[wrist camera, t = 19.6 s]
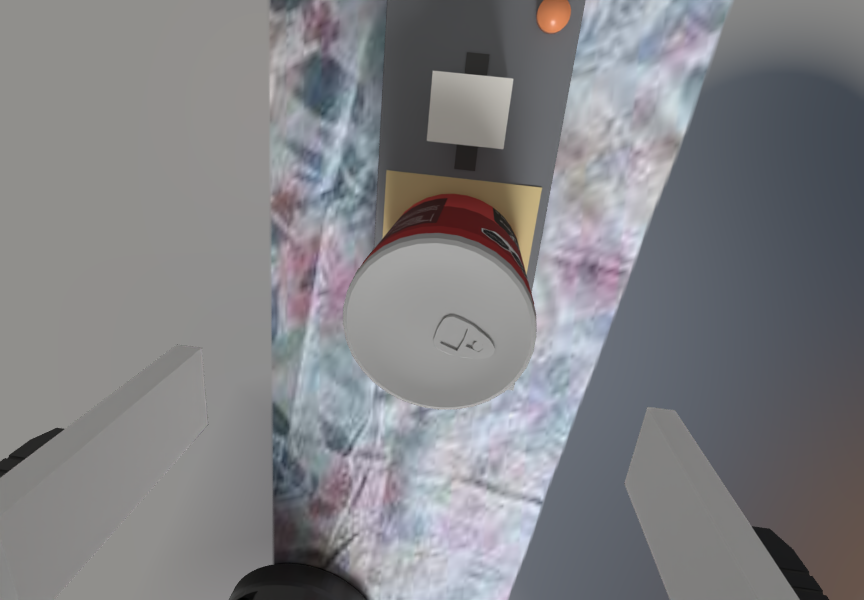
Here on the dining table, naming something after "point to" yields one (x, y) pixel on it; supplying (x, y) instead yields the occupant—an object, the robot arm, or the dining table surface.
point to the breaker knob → (469, 109)
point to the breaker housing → (488, 56)
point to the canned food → (443, 306)
